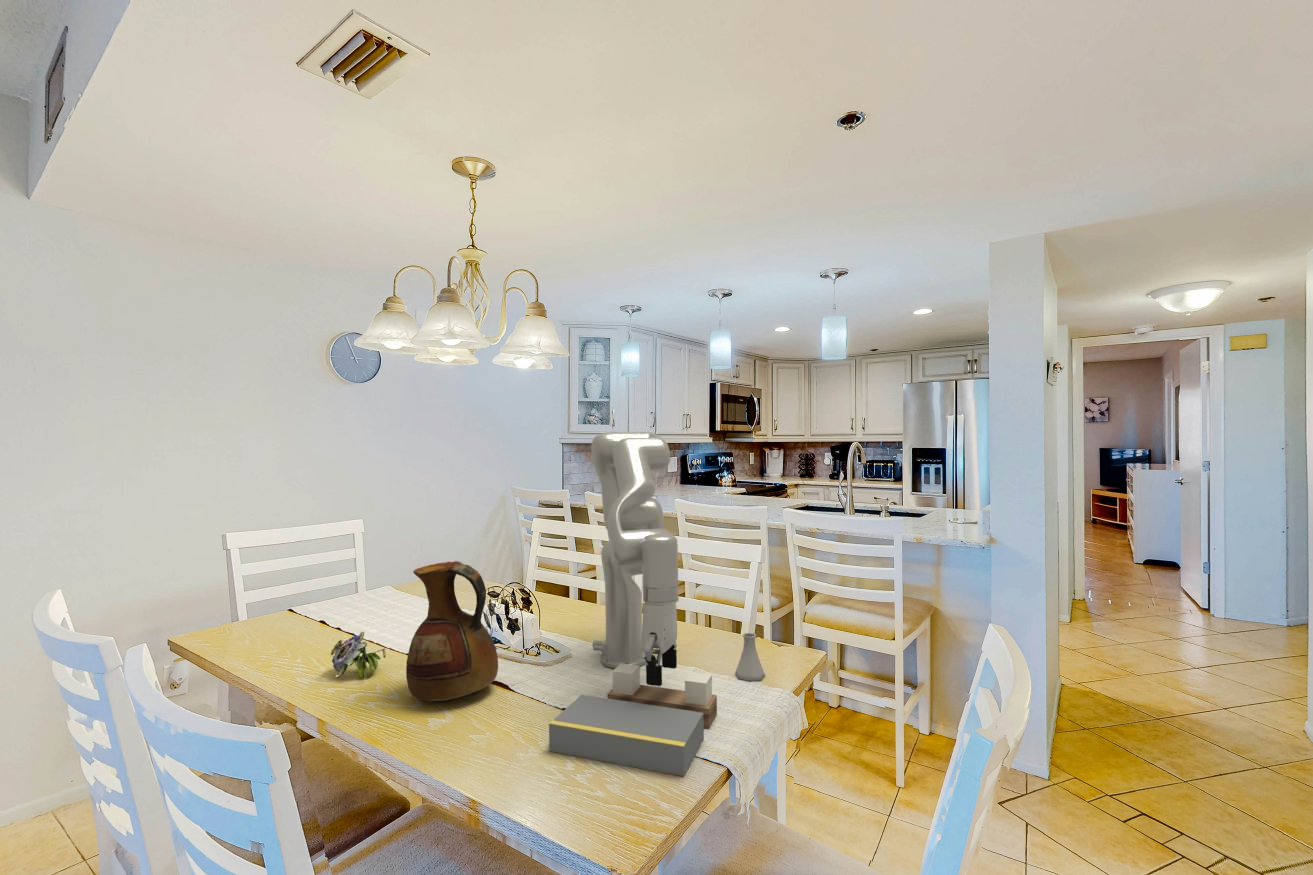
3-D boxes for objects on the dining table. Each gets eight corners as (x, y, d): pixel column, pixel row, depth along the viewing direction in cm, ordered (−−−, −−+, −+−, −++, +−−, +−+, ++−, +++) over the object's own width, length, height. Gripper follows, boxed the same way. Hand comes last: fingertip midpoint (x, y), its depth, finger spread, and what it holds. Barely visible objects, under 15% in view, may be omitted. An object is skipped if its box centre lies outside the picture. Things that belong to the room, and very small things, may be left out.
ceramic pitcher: (428, 675, 142) (427, 554, 143) (509, 675, 142) (507, 553, 142) (389, 712, 123) (388, 571, 123) (482, 712, 122) (481, 571, 123)
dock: (549, 750, 106) (549, 723, 106) (581, 718, 119) (581, 694, 119) (684, 776, 98) (683, 746, 98) (703, 738, 110) (703, 712, 110)
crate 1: (612, 692, 122) (612, 671, 122) (620, 683, 126) (620, 663, 126) (632, 695, 121) (632, 673, 121) (640, 686, 125) (639, 665, 125)
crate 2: (685, 702, 117) (684, 680, 117) (691, 693, 121) (690, 672, 121) (706, 705, 115) (706, 683, 115) (712, 696, 119) (711, 674, 119)
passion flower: (339, 698, 142) (319, 655, 145) (382, 676, 151) (362, 636, 153) (351, 683, 136) (330, 639, 138) (395, 661, 144) (374, 619, 147)
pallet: (607, 712, 121) (607, 693, 121) (619, 699, 127) (619, 681, 127) (709, 728, 114) (708, 708, 114) (716, 714, 120) (716, 694, 120)
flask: (765, 683, 135) (764, 640, 135) (734, 680, 137) (733, 638, 137) (765, 671, 142) (764, 630, 143) (735, 669, 144) (735, 628, 144)
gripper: (657, 583, 130) (658, 659, 130) (628, 602, 114) (629, 690, 114) (689, 585, 128) (690, 663, 127) (664, 605, 111) (666, 694, 111)
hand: (662, 675), depth 120 cm, fingers open, 9 cm apart
